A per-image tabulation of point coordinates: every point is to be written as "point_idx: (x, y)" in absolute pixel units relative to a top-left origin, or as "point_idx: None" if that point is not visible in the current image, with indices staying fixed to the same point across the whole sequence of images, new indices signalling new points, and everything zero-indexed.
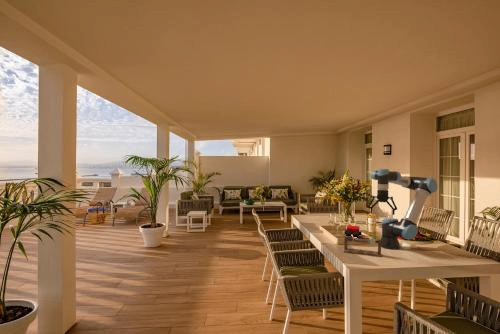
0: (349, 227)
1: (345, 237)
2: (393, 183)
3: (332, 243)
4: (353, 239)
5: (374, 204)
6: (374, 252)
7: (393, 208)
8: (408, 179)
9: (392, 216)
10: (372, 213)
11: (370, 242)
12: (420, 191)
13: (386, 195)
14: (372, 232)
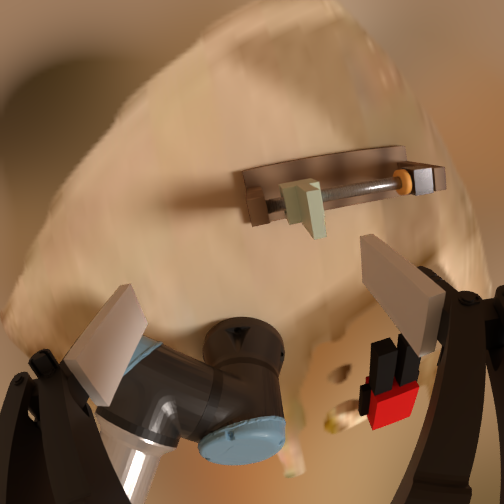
0: (409, 397)
1: (439, 167)
2: None
3: (451, 249)
4: (401, 170)
5: (471, 384)
6: (279, 196)
7: (40, 387)
8: None
9: (106, 304)
10: (397, 258)
11: (308, 180)
12: None
13: None
14: (313, 189)
